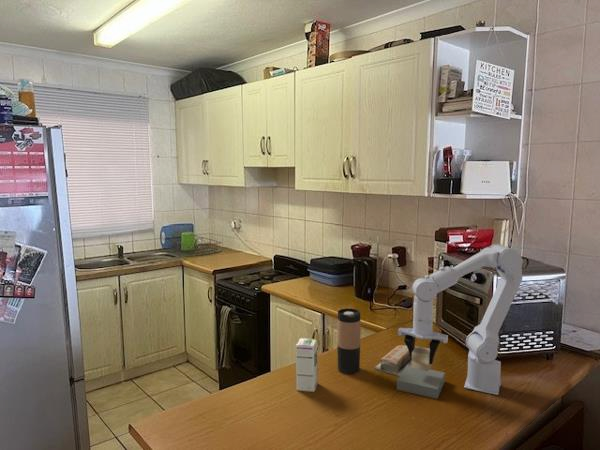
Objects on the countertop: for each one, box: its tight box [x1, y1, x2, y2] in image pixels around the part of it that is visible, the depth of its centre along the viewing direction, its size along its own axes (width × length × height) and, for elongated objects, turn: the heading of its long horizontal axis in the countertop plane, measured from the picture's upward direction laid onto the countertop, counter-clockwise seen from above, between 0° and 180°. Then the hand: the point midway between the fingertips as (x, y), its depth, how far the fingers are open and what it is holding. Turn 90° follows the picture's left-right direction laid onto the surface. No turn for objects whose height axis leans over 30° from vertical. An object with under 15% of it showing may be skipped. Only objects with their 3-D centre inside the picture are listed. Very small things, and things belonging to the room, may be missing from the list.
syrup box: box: [295, 337, 319, 393], centre depth 132 cm, size 6×6×14 cm
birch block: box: [411, 345, 433, 371], centre depth 132 cm, size 5×5×5 cm
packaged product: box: [374, 344, 412, 377], centre depth 149 cm, size 18×5×10 cm
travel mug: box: [336, 308, 361, 375], centre depth 143 cm, size 8×8×20 cm
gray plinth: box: [396, 365, 446, 400], centre depth 133 cm, size 12×12×3 cm
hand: (421, 361), depth 132 cm, fingers closed on birch block, 5 cm apart
